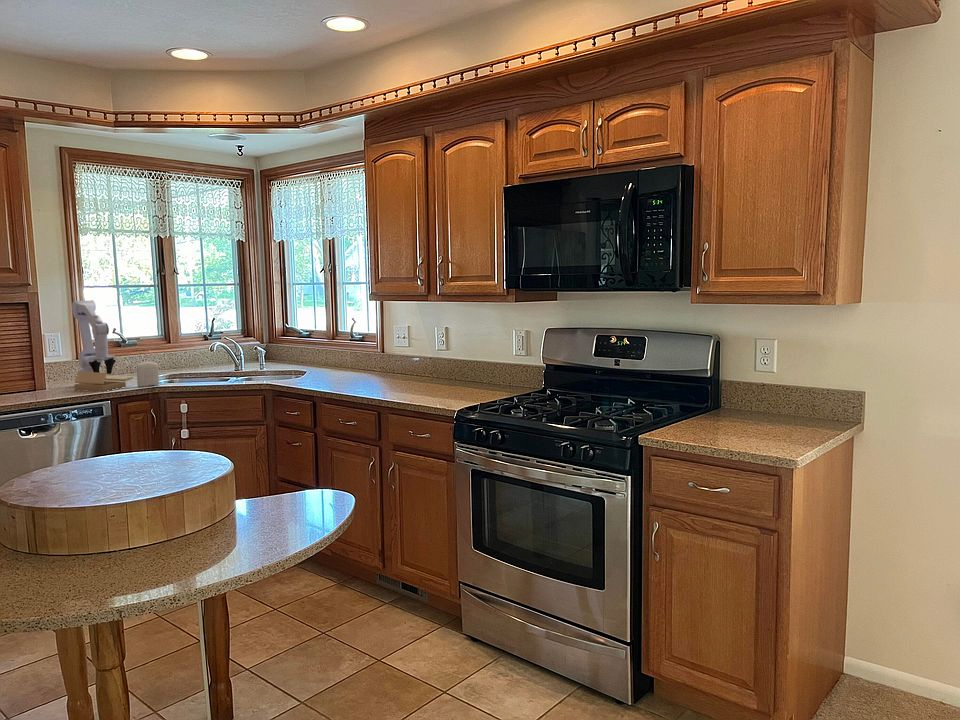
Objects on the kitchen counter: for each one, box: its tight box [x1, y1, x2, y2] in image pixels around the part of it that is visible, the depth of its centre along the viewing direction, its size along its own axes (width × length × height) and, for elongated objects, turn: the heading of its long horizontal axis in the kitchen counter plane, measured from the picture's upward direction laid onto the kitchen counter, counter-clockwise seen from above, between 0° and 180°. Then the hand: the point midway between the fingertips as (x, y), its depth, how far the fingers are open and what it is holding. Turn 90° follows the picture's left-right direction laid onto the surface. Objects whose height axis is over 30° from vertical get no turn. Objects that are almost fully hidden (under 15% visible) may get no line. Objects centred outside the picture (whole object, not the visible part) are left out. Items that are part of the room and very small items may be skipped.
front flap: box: [74, 371, 108, 384], centre depth 360 cm, size 17×6×1 cm
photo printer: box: [136, 361, 160, 387], centre depth 376 cm, size 10×4×12 cm, turn 123°
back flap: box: [105, 374, 134, 382], centre depth 375 cm, size 17×6×1 cm, turn 71°
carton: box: [73, 380, 127, 392], centre depth 366 cm, size 18×14×3 cm
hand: (103, 374), depth 367 cm, fingers open, 7 cm apart
